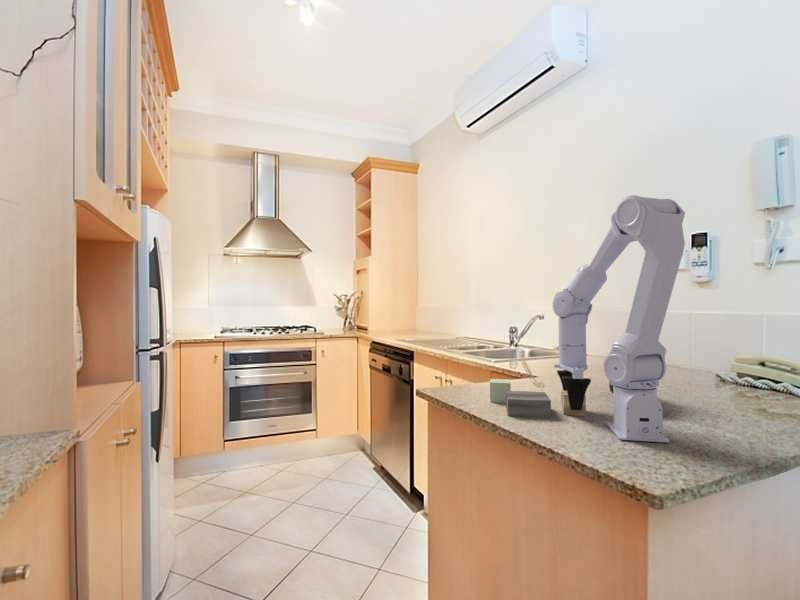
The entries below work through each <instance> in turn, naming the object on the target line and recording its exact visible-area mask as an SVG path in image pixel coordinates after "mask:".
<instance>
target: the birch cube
mask: <svg viewBox="0 0 800 600" xmlns="http://www.w3.org/2000/svg"><path fill="white" fill-rule="evenodd" d="M586 398H587V395H585V397H584V401H583V406H582V410H571V408H570V404H569V399H568V393H567V391H563V390H560V403H561V405H560V408H561V412H562V414H563V415H565V416H577V417H579V416H581V417H586V416H587V403H586V402H587V400H586Z"/></svg>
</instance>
